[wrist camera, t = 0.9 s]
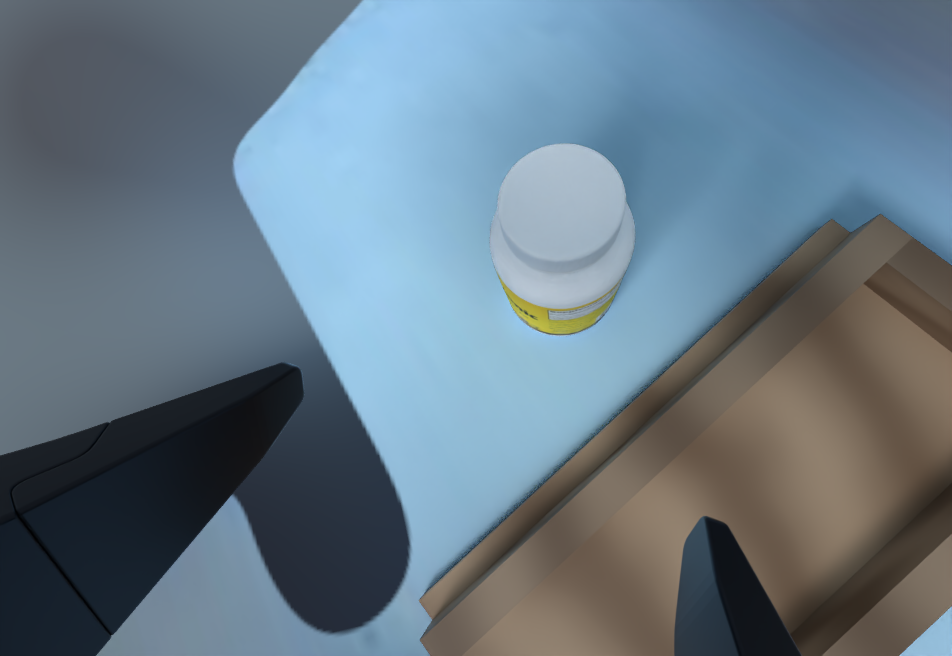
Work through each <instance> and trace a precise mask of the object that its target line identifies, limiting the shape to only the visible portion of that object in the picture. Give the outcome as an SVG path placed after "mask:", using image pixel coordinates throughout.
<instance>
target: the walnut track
mask: <svg viewBox="0 0 952 656" xmlns="http://www.w3.org/2000/svg"><path fill="white" fill-rule="evenodd" d="M703 516H709V517H711V518H714V519H717V520H720V521H722V522H724V523H726V524H727V525H728V526H729V528H730V529H731V531H732V533H733V535H734V537H735V538H736V540H737V542H738V544H739V545H740V547H741V549H742V551H743V552H744V554H745V556H746V558H747V559H748V561H749V563H750V565H751V566H752V568H753V570H754V572H755V574H756V575H757V577H758V579H759V581H760V582H761V584H762V586H763V588H764V589H765V591H766V593H767V595H768V596H769V598H770V600H771V602H772V603H773V605H774V607H775V609H776V611H777V612H778V614H779V616H780V618H781V619H782V621H783V623H784V625H785V626H786V628H787V630H788V632H789V633H790V635H791V637H792V639H793V640H794V642H795V644H796V646H797V648H798V649H799V651H800V653H801V655H802V656H899V655H900V654H901V653H902V652H903V651H905V650H906V649H907V648H908V647H909V646H910V645H911V644H912V643H913V642H914V641H915V640H916V639H917V638H918V637H919V636H920V635H922V634H923V633H924V632H925V631H926V630H927V629H928V628H929V627H930V626H931V625H932V624H933V623H934V622H935V621H936V620H938V619H939V618H940V617H941V616H942V615H943V614H944V613H945V612H946V611H947V610H948V609H949V608H950V607H951V606H952V265H950V264H949V263H947V262H946V261H945V260H943V259H942V258H941V257H939V256H938V255H936V254H935V253H934V252H932V251H931V250H930V249H928V248H927V247H925V246H924V245H923V244H921V243H920V242H919V241H917V240H916V239H914V238H913V237H912V236H910V235H909V234H908V233H906V232H905V231H903V230H902V229H901V228H899V227H898V226H897V225H895V224H894V223H892V222H891V221H890V220H888V219H887V218H886V217H884V216H883V215H881V214H879V215H878V216H876V217H875V218H873V219H872V220H870V221H868V222H867V223H865V224H864V225H862V226H861V227H859V228H858V229H856V230H854V231H853V232H851V233H850V232H849V231H847V230H846V229H845V228H843V227H842V226H841V225H839V224H838V223H837V222H835V221H834V220H833V219H831V220H830V221H828V222H827V223H826V224H824V225H823V226H822V227H821V228H820V229H818V230H817V231H816V232H815V233H814V234H813V235H812V236H811V237H810V238H809V239H808V240H807V241H805V242H804V243H803V244H802V245H801V246H800V247H799V248H798V249H797V250H796V251H795V252H794V253H792V254H791V255H790V256H789V257H788V258H787V259H786V260H785V261H784V262H783V263H782V264H781V265H779V266H778V267H777V268H776V269H775V270H774V271H773V272H772V273H771V274H770V275H769V276H768V277H767V278H765V279H764V280H763V281H762V282H761V283H760V284H759V285H758V286H757V287H756V288H755V289H754V290H752V291H751V292H750V293H749V294H748V295H747V296H746V297H745V298H744V299H743V300H742V301H741V302H739V303H738V304H737V305H736V306H735V307H734V308H733V309H732V310H731V311H730V312H729V313H728V314H726V315H725V316H724V317H723V318H722V319H721V320H720V321H719V322H718V323H717V324H716V325H715V326H713V327H712V328H711V329H710V330H709V331H708V332H707V333H706V334H705V335H704V336H703V337H702V338H701V339H699V340H698V341H697V342H696V343H695V344H694V345H693V346H692V347H691V348H690V349H689V350H688V351H686V352H685V353H684V354H683V355H682V356H681V357H680V358H679V359H678V360H677V361H676V362H675V363H673V364H672V365H671V366H670V367H669V368H668V369H667V370H666V371H665V372H664V373H663V374H662V375H660V376H659V377H658V378H657V379H656V380H655V381H654V382H653V383H652V384H651V385H650V386H649V387H647V388H646V389H645V390H644V391H643V392H642V393H641V394H640V395H639V396H638V397H637V398H636V399H635V400H633V401H632V402H631V403H630V404H629V405H628V406H627V407H626V408H625V409H624V410H623V411H622V412H620V413H619V414H618V415H617V416H616V417H615V418H614V419H613V420H612V421H611V422H610V423H609V424H607V425H606V426H605V427H604V428H603V429H602V430H601V431H600V432H599V433H598V434H597V435H596V436H594V437H593V438H592V439H591V440H590V441H589V442H588V443H587V444H586V445H585V446H584V447H583V448H581V449H580V450H579V451H578V452H577V453H576V454H575V455H574V456H573V457H572V458H571V459H570V460H568V461H567V462H566V463H565V464H564V465H563V466H562V467H561V468H560V469H559V470H558V471H557V472H556V473H554V474H553V475H552V476H551V477H550V478H549V479H548V480H547V481H546V482H545V483H544V484H543V485H541V486H540V487H539V488H538V489H537V490H536V491H535V492H534V493H533V494H532V495H531V496H530V497H528V498H527V499H526V500H525V501H524V502H523V503H522V504H521V505H520V506H519V507H518V508H517V509H515V510H514V511H513V512H512V513H511V514H510V515H509V516H508V517H507V518H506V519H505V520H504V521H502V522H501V523H500V524H499V525H498V526H497V527H496V528H495V529H494V530H493V531H492V532H491V533H490V534H488V535H487V536H486V537H485V538H484V539H483V540H482V541H481V542H480V543H479V544H478V545H477V546H475V547H474V548H473V549H472V550H471V551H470V552H469V553H468V554H467V555H466V556H465V557H464V558H462V559H461V560H460V561H459V562H458V563H457V564H456V565H455V566H454V567H453V568H452V569H451V570H449V571H448V572H447V573H446V574H445V575H444V576H443V577H442V578H441V579H440V580H439V581H438V582H436V583H435V584H434V585H433V586H432V587H431V588H430V589H429V590H428V591H427V592H426V593H425V594H424V595H423V596H422V597H421V598H420V600H419V602H420V603H421V605H422V606H423V607H424V609H425V610H426V612H427V613H428V614H429V616H430V617H431V619H432V621H431V623H430V625H429V626H428V628H427V629H426V631H425V633H424V634H423V636H422V637H421V639H420V641H421V643H422V644H423V646H424V647H425V648H426V650H427V651H428V653H429V654H430V656H674V628H675V617H676V608H677V599H678V590H679V581H680V572H681V563H682V554H683V547H684V543H685V540H686V538H687V537H688V535H689V534H690V532H691V531H692V529H693V528H694V526H695V525H696V524H697V522H698V521H699V519H700V518H701V517H703Z"/></svg>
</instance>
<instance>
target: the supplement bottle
mask: <svg viewBox="0 0 952 656" xmlns="http://www.w3.org/2000/svg"><path fill="white" fill-rule="evenodd" d="M489 243H490V251H491V256H492V260H493V263H494V267H495V269H496V272H497V274H498V277H499V279H500V282H501V284H502V286H503V289H504V290H505V293H506V295H507V297H508V299H509V302H510V304H511V306H512V308H513V310H514V311H515V313H516V314H517V316H518V317H519V318H520V319H521V320H522V321H523V322H524V323H525V324H526V325H527V326H529V327H530V328H532V329H533V330H535V331H537V332H540V333H542V334H546V335H551V336H569V335H574V334H578V333H580V332H583V331H585V330H587V329H589V328H590V327H592V326H593V325H595V324H596V323H597V322H598V321H599V320H600V319H601V318H602V317H603V316H604V315H605V313H606V312H607V310H608V309H609V307H610V305H611V303H612V301H613V299H614V297H615V294H616V292H617V290H618V288H619V285H620V284H621V281H622V279H623V277H624V274H625V272H626V270H627V268H628V266H629V263H630V261H631V258H632V254H633V251H634V245H635V224H634V219H633V216H632V213H631V210H630V208H629V206H628V204H627V202H626V192H625V188H624V184H623V181H622V178H621V176H620V174H619V172H618V171H617V169H616V168H615V167H614V165H613V164H612V163H611V162H610V161H609V160H608V159H607V158H606V157H604V156H603V155H601V154H600V153H598V152H597V151H595V150H593V149H590V148H588V147H585V146H581V145H578V144H568V143H563V144H553V145H548V146H544V147H542V148H539V149H536V150H534V151H532V152H530V153H529V154H527V155H525V156H524V157H523V158H521V159H520V160H519V161H518V162H517V163H516V164H515V165H514V166H513V167H512V168H511V169H510V170H509V172H508V173H507V175H506V177H505V178H504V180H503V182H502V185H501V187H500V191H499V194H498V204H497V210H496V212H495V215H494V217H493V220H492V224H491V228H490V242H489Z"/></svg>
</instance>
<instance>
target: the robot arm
mask: <svg viewBox="0 0 952 656" xmlns="http://www.w3.org/2000/svg"><path fill="white" fill-rule="evenodd" d="M303 398H304V384H303V377H302V371H301V369H300V368H299V367H298V366H295V365H293V364H290V363H287V362H282V363H278V364H276V365H273V366H270V367H267V368H264V369H261V370H258V371H255V372H253V373H249V374H247V375H243V376H241V377H238V378H235V379H232V380H229V381H226V382H223V383H220V384H217V385H214V386H211V387H208V388H206V389H203V390H200V391H197V392H194V393H191V394H188V395H185V396H182V397H179V398H176V399H174V400H171V401H168V402H165V403H162V404H159V405H156V406H153V407H150V408H147V409H144V410H141V411H138V412H136V413H133V414H130V415H127V416H124V417H121V418H118V419H115V420H113V421H111V422H110V423H109V422H106V423H103V424H100V425H98V426H95V427H92V428H89V429H86V430H83V431H80V432H77V433H74V434H71V435H67V436H64V437H61V438H58V439H55V440H52V441H48V442H45V443H42V444H39V445H35V446H32V447H29V448H25V449H21V450H18V451H14V452H11V453H7V454H4V455H0V656H96V655H97V654H98V653H99V651H100V650H101V649H102V648H103V647H104V646H105V644H106V643H107V642H108V641H109V640H110V638H111V635H113V634H114V633H115V632H116V631H117V630H118V629H119V627H120V626H121V625H122V624H123V623H124V622H125V620H126V619H127V618H128V617H129V616H130V614H131V613H132V612H133V611H134V610H135V609H136V607H137V606H138V605H139V604H140V603H141V601H142V600H143V599H144V598H145V597H146V596H147V594H148V593H149V592H150V591H151V590H152V588H153V587H154V586H155V585H156V584H157V583H158V581H159V580H160V579H161V578H162V577H163V575H164V574H165V573H166V572H167V571H168V570H169V568H170V567H171V566H172V565H173V564H174V562H175V561H176V560H177V559H178V558H179V557H180V555H181V554H182V553H183V552H184V551H185V549H186V548H187V547H188V546H189V545H190V544H191V542H192V541H193V540H194V539H195V538H196V536H197V535H198V534H199V533H200V532H201V531H202V529H203V528H204V527H205V526H206V525H207V523H208V522H209V521H210V520H211V519H212V518H213V516H214V515H215V514H216V513H217V512H218V510H219V509H220V508H221V507H222V506H223V505H224V503H225V502H226V501H227V500H228V499H229V497H230V496H231V495H232V494H233V493H234V492H235V490H236V489H237V488H238V487H239V486H240V484H241V483H242V482H243V481H244V480H245V479H246V477H247V476H248V475H249V474H250V473H251V471H252V470H253V469H254V468H255V467H256V466H257V464H258V463H259V462H260V461H261V459H262V458H263V457H264V456H265V454H266V453H267V452H268V450H269V449H270V448H271V446H272V445H273V443H274V442H275V440H276V439H277V437H278V436H279V434H280V433H281V432H282V430H283V429H284V427H285V426H286V424H287V423H288V421H289V420H290V419H291V417H292V416H293V414H294V413H295V411H296V410H297V408H298V407H299V405H300V404H301V402H302V400H303ZM674 656H802V655H801V653H800V651H799V649H798V648H797V646H796V644H795V642H794V640H793V639H792V637H791V635H790V633H789V632H788V630H787V628H786V626H785V625H784V623H783V621H782V619H781V618H780V616H779V614H778V612H777V611H776V609H775V607H774V605H773V603H772V602H771V600H770V598H769V596H768V595H767V593H766V591H765V589H764V588H763V586H762V584H761V582H760V581H759V579H758V577H757V575H756V574H755V572H754V570H753V568H752V566H751V565H750V563H749V561H748V559H747V558H746V556H745V554H744V552H743V551H742V549H741V547H740V545H739V544H738V542H737V540H736V538H735V537H734V535H733V533H732V531H731V529H730V528H729V526H728V525H727V524H726V523H724V522H722V521H720V520H717V519H714V518H711V517H709V516H703V517H701V518H700V519H699V521H698V522H697V524H696V525H695V526H694V528H693V529H692V531H691V532H690V534H689V535H688V537H687V538H686V540H685V543H684V547H683V554H682V563H681V572H680V581H679V590H678V599H677V608H676V617H675V628H674Z"/></svg>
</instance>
